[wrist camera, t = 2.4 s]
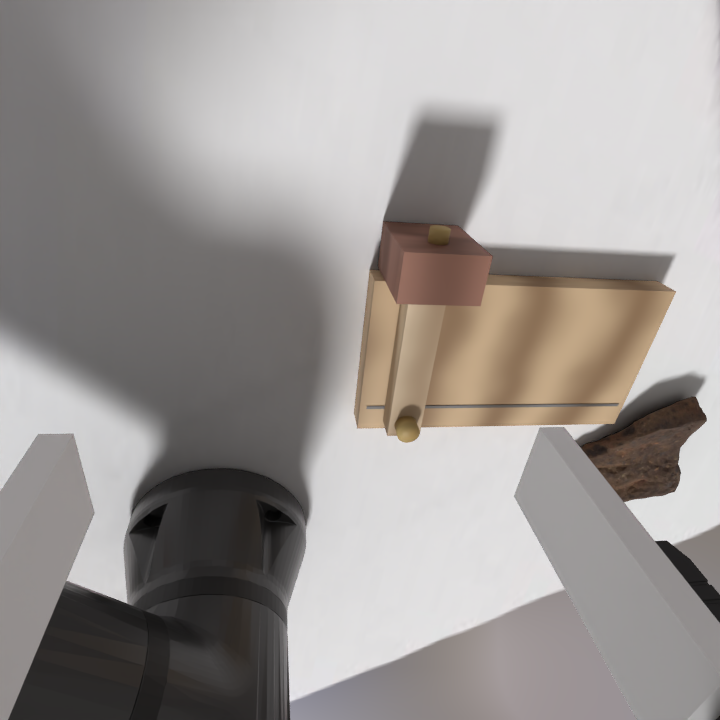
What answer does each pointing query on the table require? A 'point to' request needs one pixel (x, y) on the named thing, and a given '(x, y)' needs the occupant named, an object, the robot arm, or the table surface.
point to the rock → (647, 451)
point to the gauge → (424, 307)
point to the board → (521, 351)
